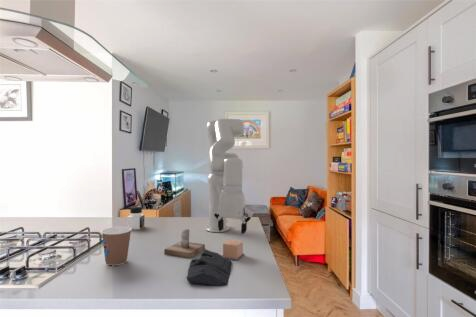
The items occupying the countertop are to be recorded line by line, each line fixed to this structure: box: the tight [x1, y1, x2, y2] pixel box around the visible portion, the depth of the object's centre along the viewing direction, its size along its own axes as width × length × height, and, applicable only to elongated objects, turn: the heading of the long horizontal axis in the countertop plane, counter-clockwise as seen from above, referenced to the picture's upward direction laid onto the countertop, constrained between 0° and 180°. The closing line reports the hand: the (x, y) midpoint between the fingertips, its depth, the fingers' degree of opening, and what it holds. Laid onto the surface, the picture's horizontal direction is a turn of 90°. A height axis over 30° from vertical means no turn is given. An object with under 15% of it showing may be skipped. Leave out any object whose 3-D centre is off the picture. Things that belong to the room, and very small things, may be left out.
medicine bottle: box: [126, 205, 145, 231], centre depth 151 cm, size 7×7×12 cm
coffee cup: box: [100, 226, 133, 267], centre depth 100 cm, size 10×10×12 cm
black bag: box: [186, 249, 233, 287], centre depth 92 cm, size 15×22×5 cm
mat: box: [221, 252, 245, 262], centre depth 107 cm, size 8×7×1 cm
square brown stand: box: [163, 228, 206, 259], centre depth 112 cm, size 12×12×9 cm
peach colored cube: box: [222, 239, 244, 259], centre depth 107 cm, size 6×6×5 cm
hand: (232, 231), depth 108 cm, fingers open, 9 cm apart
